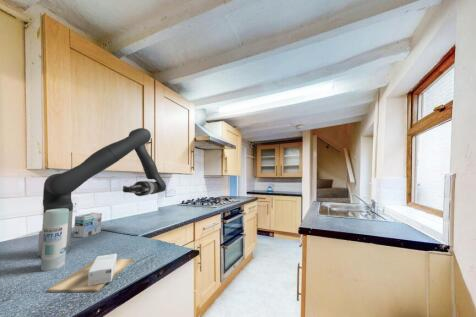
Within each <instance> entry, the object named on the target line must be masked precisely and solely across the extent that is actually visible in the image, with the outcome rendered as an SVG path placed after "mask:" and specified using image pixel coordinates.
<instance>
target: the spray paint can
mask: <svg viewBox="0 0 476 317" xmlns="http://www.w3.org/2000/svg"><path fill="white" fill-rule="evenodd" d="M68 218H69V209H66V208H62V209H51V210H46V212H45V218H44V232H43V246H42V257H41V264H40V270H41V271H42V272H49V271H54V270H57V269H60V268H62V267H64V266H65V263H66V255H67V253H66V242H67V230H68Z"/></svg>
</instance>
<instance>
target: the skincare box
mask: <svg viewBox="0 0 476 317" xmlns="http://www.w3.org/2000/svg"><path fill="white" fill-rule="evenodd" d="M117 256H118V254H117V253H112V254H106V255H105V254H104V255H97V256H96V258H95V260H93V261H94V263H93V265H92V267H91V268H90V270H89V272H88V286H91V285H96V284H101V283H106V282H108V283H110V282H112V280H113V279H112V277H113V274H114V271H115V267H116V259H118V258H117Z"/></svg>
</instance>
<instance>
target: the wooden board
mask: <svg viewBox="0 0 476 317" xmlns="http://www.w3.org/2000/svg"><path fill="white" fill-rule="evenodd" d="M94 261H95V260H93V261H92V262H90V263H88V264H87V265H85V266H83V267H82V268H80V269H78V270H77V271H75V272H73V273H72V274H70V275H69V276H67V277H65V278H64V279H62V280H61V281H59V282H56V283H55V284H54V285H52V286H50V287H49V288H47V290H46V292H47V293H52V292H53V293H54V292H55V293H56V292H57V293H58V292H59V293H66V292H67V293H69V292H71V293H73V292H74V293H77V292H78V293H92V292H93V293H95V292H96V293H97V292H98V291H100V290H101V289H102V288H104V286H106V285H107V284H108V283H109V282H106V283H101V284H96V285H91V286H88V272H89V270H90V268H91V267H92V265H93V263H94ZM134 261H135V259H134V258H116V267H115V271H114V274H113V277H112V280H113V279H114V278H115V277H116V276H117V275H119V274H120V273H121V272H122V271H123V270H124V269H126V268H127V267H129V265H131V264H132V263H133V262H134Z"/></svg>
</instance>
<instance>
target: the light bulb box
mask: <svg viewBox="0 0 476 317" xmlns="http://www.w3.org/2000/svg"><path fill="white" fill-rule="evenodd" d="M102 215H103V213H101V212H100V213H98V212H90V213H85V214H81V215H75V217H74V228H73V238H86V237H89V236H90V237H91V236H93V235H96V233H97V234H100V233H101V231H102V219H103V217H102ZM99 232H100V233H99Z"/></svg>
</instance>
